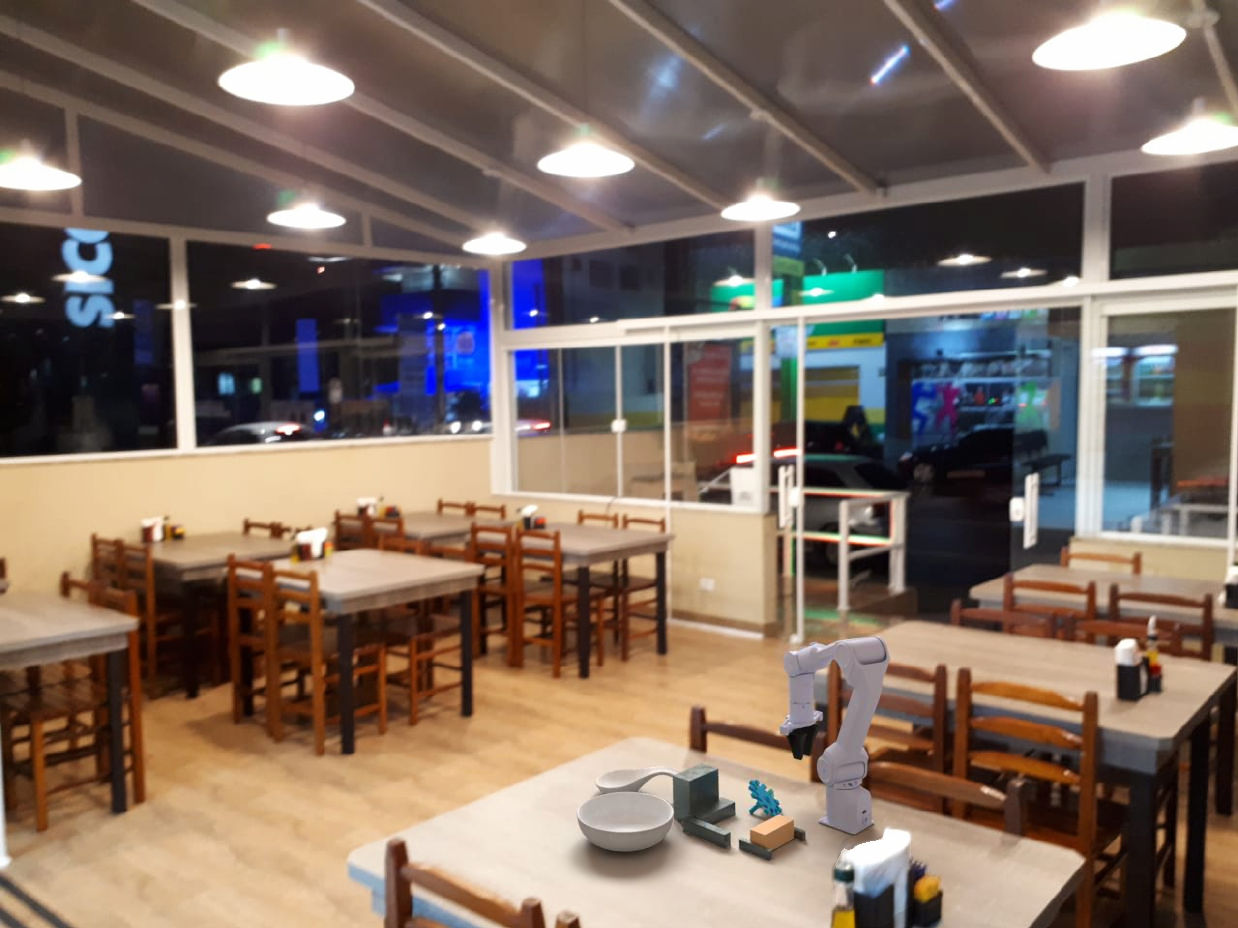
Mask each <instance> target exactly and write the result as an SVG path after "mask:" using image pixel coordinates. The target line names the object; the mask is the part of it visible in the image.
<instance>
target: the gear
mask: <svg viewBox="0 0 1238 928" xmlns="http://www.w3.org/2000/svg"><path fill="white" fill-rule="evenodd" d="M748 784H749V786H748V785H747V786H748V787H747V790H749V791H750V792H751V793H750V797H751V799H754V800H756V801H757V802H755V804H754V805H753V806H752V807H751V808H750V809H748V812H749V814H750V815H753V814H754V813H755V812H756V811H757V810H758V809H760V808H764V810H763V813H764V815H766V816H769V815H770V817H771V818H773V817H775V816H777V815H778V814H779V815H782V813H783V809H782V807H780V806H779V805H780V804H781V803H780V801H779V800H778V799H776V798H775V794H774V789H773V788H769V789H768V787H767V786H766V784H765V783H762V784H761V782H760V781H759V780H758V779H755V780H753V779H752V780H750V781H749V782H748ZM760 784H761V785H760ZM767 789H768V790H767Z"/></svg>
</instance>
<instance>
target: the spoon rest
mask: <svg viewBox="0 0 1238 928" xmlns="http://www.w3.org/2000/svg"><path fill="white" fill-rule="evenodd" d="M680 772H681V771H679V770H678V769H676V768H674V767H671V766H667V765H666V766H665V765H660V766H659V765H657V766H652V767H651V766H650V767H646V768H645V767H644V768H625V769H623V768H622V769H615V770H610V771H607V772H604V773H602V774H601V775H599V776H598V777H597V778H596V779H595V781H594V782H595V786H596V788H597V789H598V790H599V791H600V792H601V793H603V795H604V794H609V793H616V792H638V791H639V790H641V788H642V787H644V786H645V784H646V783H648V782H649V781H650V780H652V779H653V778H656V777H659V776H668V777H670V778H672V779H673V775H675V774H678V773H680Z"/></svg>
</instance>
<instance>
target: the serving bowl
mask: <svg viewBox="0 0 1238 928" xmlns="http://www.w3.org/2000/svg"><path fill="white" fill-rule="evenodd" d="M576 817H577V823H578V826H579V828H580V830H581V833H582V834H583V835H584V837H585V838H586V839H587V840H588V841H589V842H590V843H592V844H593V845H595V846H597V847H599V848H602V849H604V850H609V851H613V852H635V851H641V850H646V849H648V848H651V847H653V846H655V845H657V844H658V843H660V842H661V841H662V840H664V839H665V838H666V836H667V835H668V834H669V832H670V830H671V828H672V826H673V823H674V807H673V805H672V804H671V803H669V802H668V801H667V800H665V799H664V798H661V797H658V796H657V795H653V794H649V793H644V792H638V791H637V792H616V793H609V794H604V793H603V794H600V795H598V796H595V797H591V798H589V799H588V800H586V801H584V802H583V803H582V804H581V805H579V807H578V809H577V812H576Z"/></svg>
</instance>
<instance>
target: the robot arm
mask: <svg viewBox="0 0 1238 928" xmlns="http://www.w3.org/2000/svg"><path fill="white" fill-rule="evenodd" d="M833 660H835V662H836V663H837V664H838V667H839V668H840V671H841V673H842V674H843V677H844V679H845V681H846V683H847V685H849V686H850V687H852V688H853V690H852V694H851V697H850V700H849V703H848V704H847V705H848V706H847V709H846V710H845V711H846V712H845V715H844V717H843V721H842V723H841V726H840V729H839V732H838V734H837V735H838V736H837V739H836V741H834V742H833V743H832V744H830V745H829V746H828V747H827V748H825V750H824V752H823V754H822V755H821V756H820V757H818V758H817V759H818V760H817V763H816V770H817V775H818V778H819V779H820V780H821V782H822V783H823V784H825V807H826V808H825V809H826V810H825V815H824V816H823V817H821V818H819V819H818V820H817V821H818V823H819V824H822V825H825V826H828V827H831V828H834V829H836V830H839V831H843V832H845V833H847V834H850V835H857V834H858V833H860V832H861V831H864V830H865V829H867V828H868V827H870V826H872V825H873V824H875V823H874V820H873V819H872V816H873V815H872V814H873V811H872V806H873V805H872V795H871V792H870V791H869V790H868V789H866V788H864V787H863V786H861V784H863V779H864V778H865V777H866V776H867V774H868V761H869V758H870V757H869V755H868V753H867V751H866V748H864V746H863V745H864V743H865V740H866V737H867V735H868V732H869V730H870V726H871V723H872V721H873V718H874V714H875V712H876V709H877V706H878V704H879V702H880V697H881V696H882V692H883V685H884V684H883V682H884V678H885V675H886V672H887V669H888V666H889V663H890V661H891V657H890V654H889V650H888V646H887V643H885V641H884V639H883V638H882V637H880V636H878V635H875V636H871V637H869V636H868V637H867V636H865V637H856V638H847V639H838V640H836V641H834V642H831V643H830V644H827V645H825V644H823V643H818V641H814V642H813V641H812V642H810V643H809V646H801V647H799V650H794V651H790V650H789V651H787V652H785V653H784V655H783V659H782V664H783V668H784V672H785V673H786V674H787V676H788V714H787V715H786V716H785V719H786V720H785V722H783V724H781V725H779V734H780V735H784V736H785V738H786V739H787V741H788V743H789V746H790V749H791V753H792V756H793V759H795V760H799V761H802V760H803V759H804V758H803V757H804V756H808V757H810V756H811V755H812V751H813V749H814V743H815V741H816V737H817V736H818V734H819V732H820V730H821V728H820V727H821V726H820V725H819V724H816V722H821V721H823V718H824V716H823V714H824V713H823V712H822V711H819V710H815V708H814V706H815V705H814V703H815V702H814V682H815V681H816V673H817V671H821V670H823V669H824V670H825V669H826V668H828V667H829V666H830V664H831V663H832V661H833Z"/></svg>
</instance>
